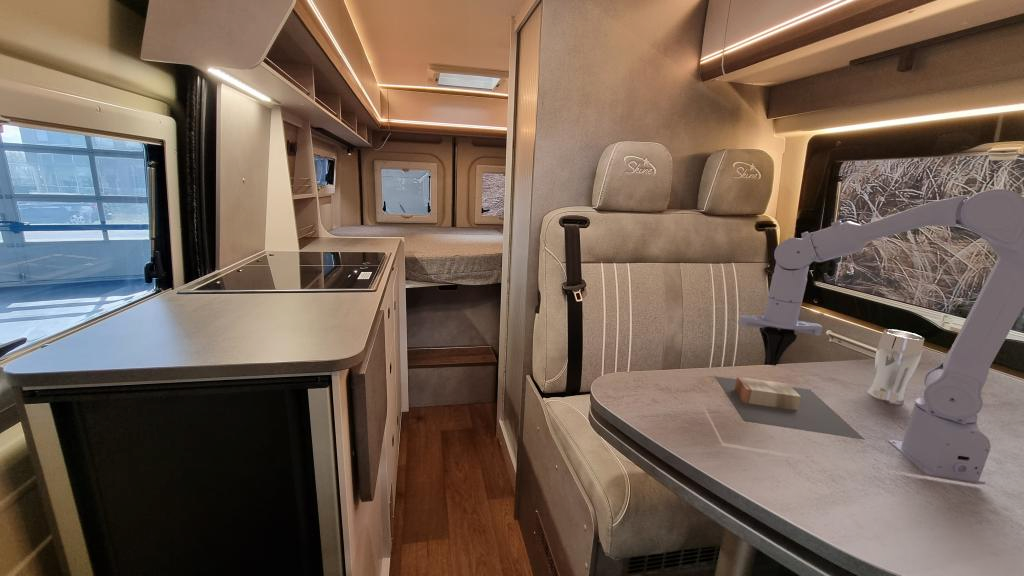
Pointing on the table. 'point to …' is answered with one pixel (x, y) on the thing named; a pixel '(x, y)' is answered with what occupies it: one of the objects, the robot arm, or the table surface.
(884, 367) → the beer glass
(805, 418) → the rubber mat
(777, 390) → the birch block
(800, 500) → the table surface
